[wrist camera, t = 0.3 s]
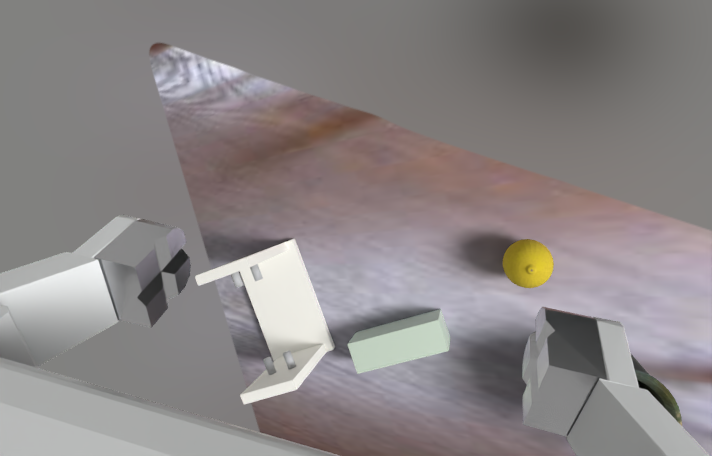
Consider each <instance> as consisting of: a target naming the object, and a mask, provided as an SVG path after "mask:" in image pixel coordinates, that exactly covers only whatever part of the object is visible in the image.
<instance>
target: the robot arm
mask: <svg viewBox="0 0 712 456" xmlns="http://www.w3.org/2000/svg"><path fill="white" fill-rule="evenodd" d="M185 244H186V238H185V234H184V231H183V230H181V229H180V228H177V227H173V226H169V225H165V224H161V223H157V222H153V221H149V220H145V219H139V218H135V217H131V216H127V215H121V216H117V217H116V218H114V219H113V220H112V221H111V222H109V223H108V224H107V225H106V226H105V227H103V228H102V229H101V230H100V231H99V232H97V233H96V234H95V235H94V236H92V237H91V238H90V239H89V240H88V241H86V242H85V243H84V244H83V245H82V246H80V247H79V248H78V249H77V250H75V251H74V252H73V253H69V252H65V253H61V254H58V255H56V256H53V257H49V258H46V259H43V260H40V261H37V262H34V263H31V264H28V265H25V266H22V267H19V268H16V269H13V270H9V271H6V272H3V273H0V456H339V455H336V454H333V453H329V452H326V451H322V450H319V449H315V448H312V447H308V446H305V445H301V444H298V443H294V442H291V441H287V440H284V439H281V438H277V437H274V436H270V435H267V434H263V433H260V432H256V431H253V430H249V429H245V428H242V427H239V426H235V425H232V424H229V423H225V422H222V421H218V420H215V419H211V418H207V417H204V416H201V415H197V414H194V413H191V412H187V411H184V410H180V409H177V408H173V407H170V406H166V405H163V404H159V403H156V402H153V401H149V400H146V399H142V398H139V397H136V396H132V395H128V394H125V393H122V392H118V391H115V390H112V389H108V388H104V387H101V386H98V385H94V384H91V383H88V382H84V381H81V380H77V379H74V378H70V377H67V376H63V375H60V374H56V373H53V372H49V371H46V370H43V369H39V368H38V366H40V365H42V364H44V363H45V362H47V361H49V360H51V359H52V358H54V357H56V356H58V355H60V354H61V353H63V352H65V351H67V350H69V349H71V348H72V347H74V346H76V345H78V344H80V343H81V342H83V341H85V340H87V339H89V338H90V337H92V336H94V335H95V334H97V333H99V332H101V331H103V330H105V329H107V328H108V327H110V326H112V325H114V324H116V323H117V322H118V320H120V321H124V322H129V323H133V324H137V325H142V326H146V327H150V328H151V327H153V325H154V324H155V323H156V322H157V320H158V319H159V318H160V317H161V316H162V315H163V313H164V312H165V311H166V310H167V308H168V301H167V300H168V299H170V298H172V297H175V296H177V295H179V294H180V293H181V291H182V290H183V289H184V287H185V286H186V283H187V281H188V278H189V276H190V266H191V265H190V259H189V257H188V255H187V254H186V253H185V252H184V250H183V249H182V248H183V246H184V245H185ZM535 321H536V332H534V333H532V334H531V335H530V336H529V338H528V341H527V344H526V348H525V352H524V357H523V366H522V379H523V380H524V382H525V383H526V384H527V386H526V389H525V391H524V394H523V396H522V399H523V424H524V425H527V426H531V427H534V428H538V429H541V430H545V431H548V432H552V433H555V434H558V435H562V436H565V437H567V441H568V442H569V444H570V446H571V447H572V449H573V451H574V453H575V454H576V456H710V455H709V454H708V453H707V452H706V451H705V450H704V449H703V448H702V447H701V446H700V445H699V444H698V443H697V442H696V441H695V440H694V439H693V437H692V436H691V435H690V434H689V433H688V432H687V431H686V430H685V429H684V428H683V427H682V426H681V425H680V424H679V423H678V422H677V421H676V420H675V419H674V417H673V416H672V415H671V414H670V413H669V412H668V411H667V410H666V409H665V408H664V407H663V406H662V405H661V404H660V403H659V402H658V401H657V400H656V399H655V397H654V396H653V395H652V394H651V393H650V392H649V391H648V390H646V389H642V388H639V385H638V382H637V378H636V374H635V370H634V366H633V362H632V358H631V354H630V350H629V346H628V342H627V338H626V334H625V330H624V326H623V325H622V324H621V323H620V322H616V321H611V320H606V319H601V318H596V317H593V318H592V317H589V316H584V315H579V314H575V313H570V312H565V311H560V310H556V309H551V308H546V307H542V308H541V309H540V311H539V312H538V315H537V317H536V320H535Z"/></svg>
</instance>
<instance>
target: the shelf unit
mask: <svg viewBox="0 0 712 456" xmlns="http://www.w3.org/2000/svg"><path fill="white" fill-rule="evenodd" d="M238 271H240V274H241V276H242V279H243V281H244V284H245V287H246V289H247V292H248V295H249V297H250V300H251V303H252V305H253V308H254V310H255V313H256V316H257V318H258V321H259V324H260V326H261V329H262V332H263V334H264V337H265V339H266V342H267V345H268V347H269V350H270V353H271V355H272V358H273V361H274V362H273V361H272V359H271V357H267V358H265V359H263V361H264V364H265V366H266V370H265V371H264V372H263V373H262V374H261V375H260V376H259V377H258V378H257V379H256V380H255V381H254V382H253V383H252V384H251V385H250V386H249V387H248V388H247V389H246V390H245V391H244V392H243V393H242V394H241V395H240V396H241V399H242V401H243V403H244V404H247V403H251V402H254V401H258V400H262V399H265V398H269V397H272V396H276V395H280V394H283V393H287V392H290V391H294V390H297V389H298V387H299V386H300V385H301V384H302V382H303V381H304V380H305V379H306V377H307V376H308V375H309V373H310V372H311V371H312V370H313V368H314V367H315V366H316V365H317V363H318V362H319V361H320V360H321V358H322V357H323V356H324V355H325V353H326V352H327V351H331V350H334V348H335V345H334V342H333V340H332V337H331V334H330V332H329V329H328V326H327V324H326V321H325V318H324V316H323V313H322V310H321V308H320V305H319V302H318V300H317V297H316V294H315V292H314V289H313V286H312V284H311V281H310V278H309V276H308V273H307V270H306V268H305V265H304V262H303V260H302V257H301V254H300V252H299V249H298V246H297V244H296V241H295V239H292V240H289V241H287V242H284V243H281V244H278V245H276V246H273V247H270V248H268V249H265V250H262V251H259V252H257V253H254V254H251V255H248V256H246V257H243V258H240V259H238V260H235V261H233V262H230V263H228V264H225V265H222V266H220V267H217V268H215V269H212V270H210V271H207V272H204V273H202V274H199V275H197V276H195V278H196V281H197V283H198V286H200V285H202V284H205V283H208V282H210V281H213V280H216V279H219V278H222V277H225V276H227V275H230V274H231V277H232V279H233V282H234V285H235V287H236V288H238V287H241V286H243V282H242V280H241V277H240V274H239V272H238Z"/></svg>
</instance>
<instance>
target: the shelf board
mask: <svg viewBox="0 0 712 456" xmlns="http://www.w3.org/2000/svg"><path fill="white" fill-rule="evenodd" d="M347 345H348V348H349V351H350V353H351V356H352V359H353V362H354V365H355V368H356V371H357V374H359V373H363V372H367V371H371V370H375V369H379V368H383V367H387V366H391V365H395V364H399V363H403V362H407V361H411V360H415V359H419V358H423V357H427V356H431V355H435V354H439V353H443V352H447V351H449V346H450V335H449V332H448V329H447V326H446V323H445V320H444V317H443V314H442V311H441V309H439V310H435V311H431V312H428V313H424V314H420V315H417V316H413V317H410V318H406V319H402V320H399V321H395V322H391V323H388V324H384V325H380V326H377V327H373V328H369V329H366V330H362V331H358V332H356V333H355V334H354V336H353V337H352V338H351V340H350V341H349V343H348V344H347Z"/></svg>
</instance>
